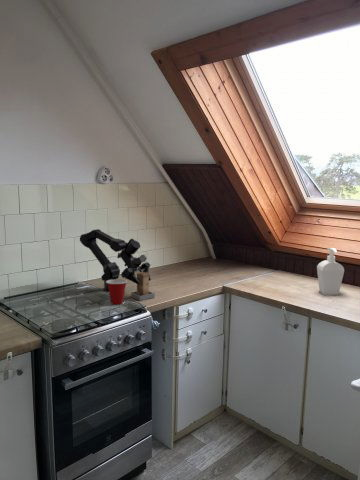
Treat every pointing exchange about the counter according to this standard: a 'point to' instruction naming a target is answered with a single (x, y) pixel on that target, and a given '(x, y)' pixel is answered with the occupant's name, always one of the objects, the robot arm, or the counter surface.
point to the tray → (144, 297)
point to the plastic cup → (116, 290)
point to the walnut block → (143, 283)
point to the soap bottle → (330, 275)
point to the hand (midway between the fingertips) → (144, 282)
